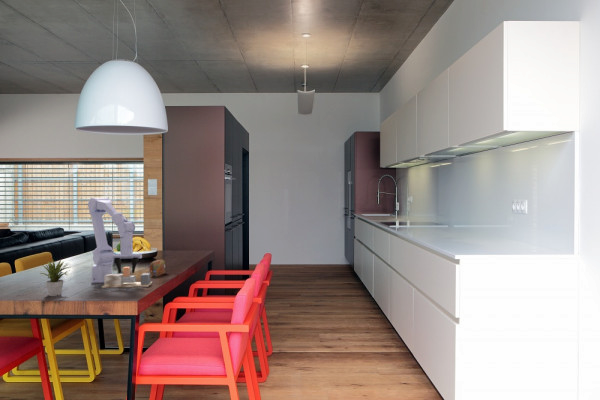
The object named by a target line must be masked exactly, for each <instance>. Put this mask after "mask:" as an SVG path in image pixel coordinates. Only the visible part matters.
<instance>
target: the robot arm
mask: <svg viewBox="0 0 600 400" xmlns="http://www.w3.org/2000/svg"><path fill="white" fill-rule="evenodd" d="M87 207H88V213H89V215H90V218H91V224H92V227H93V228H92V229H93V233H94V238H95V244H96V248H95V249H94V250H93V251H92V254H93V255H92V261H93V263H94V264H93V265H92V268H91V283H92V284H98V283H99V284H100V283H103V284H104V276H105V275H107V274H113V265H114V263H115V265H116V268H117V270H118V274H122V259H131V273H132V274H134V273H135V272H136V267H137V264H138V262H139V259H142V258H143V254H142V253H134V251H133V244H134V243H133V233H135V230H136V225H135V222H134V221H132V220H131V221H130V220H128V218H126V217H125V216H124V215H123V212H118V211H117V210H116V209H115V207H114V206H113V204H112V200H111V199H110V198H109V197H91V198H90V199H89V200H88V203H87ZM106 213H107V214H108V215H109V216H110V217H111V221H112V222H113V223H114V225H116V227H117V231H118V235H119V237H120V238H119V239H120V240H119V241H120V245H119V246H120V248H119V249H120V250H119V251H120V252H119V254H118V253H116V254H115V251H114V248H113V247H112V246H110V245H109V244H108V240H107V234H106V229H105V224H104V220H103V219H104V218H103V216H105V215H106Z"/></svg>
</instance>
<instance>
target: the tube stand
mask: <svg viewBox="0 0 600 400" xmlns="http://www.w3.org/2000/svg"><path fill="white" fill-rule="evenodd" d="M122 276H123V273H112V274H107V275H105V276H104V283H103V284H104V285H102V286H101V288H102V289H104V288H105V289H106V288H143V287H148V288H149V286H151V285H152V284H153V281H150V283H149V284H148V285H141V281H136V282H134V283H122Z"/></svg>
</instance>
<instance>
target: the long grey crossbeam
mask: <svg viewBox="0 0 600 400" xmlns="http://www.w3.org/2000/svg"><path fill="white" fill-rule="evenodd" d="M122 274H123V276H122V283H134V282H137V280H136V276H137V275H131V267H130V266H124V267H123V268H122Z"/></svg>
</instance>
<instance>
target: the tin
mask: <svg viewBox="0 0 600 400" xmlns="http://www.w3.org/2000/svg"><path fill="white" fill-rule="evenodd" d="M166 270H167V262H166V260H164V259H157V260H154V261H152V262H150V263H149V273H150V276H152V277H159V276H161V275H164V274H165V273H166Z"/></svg>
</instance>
